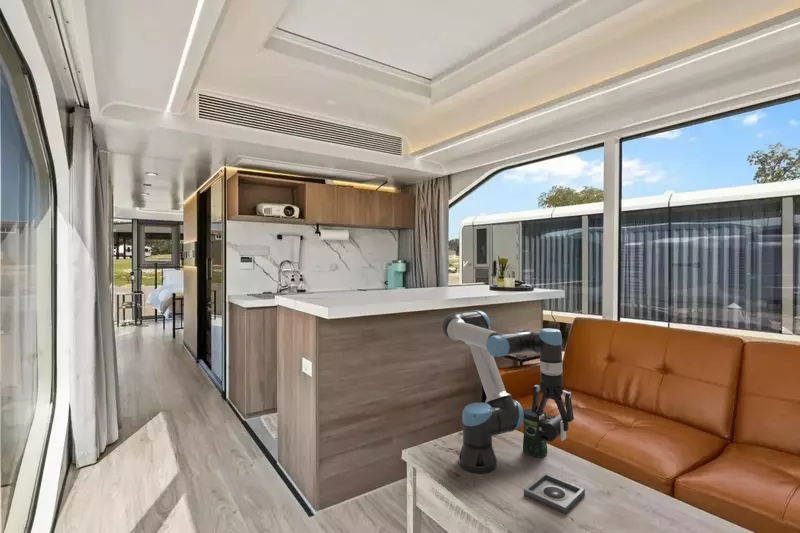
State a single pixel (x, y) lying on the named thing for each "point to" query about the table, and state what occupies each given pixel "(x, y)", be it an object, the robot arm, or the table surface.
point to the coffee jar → (533, 435)
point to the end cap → (549, 428)
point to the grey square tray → (554, 493)
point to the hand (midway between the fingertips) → (552, 436)
